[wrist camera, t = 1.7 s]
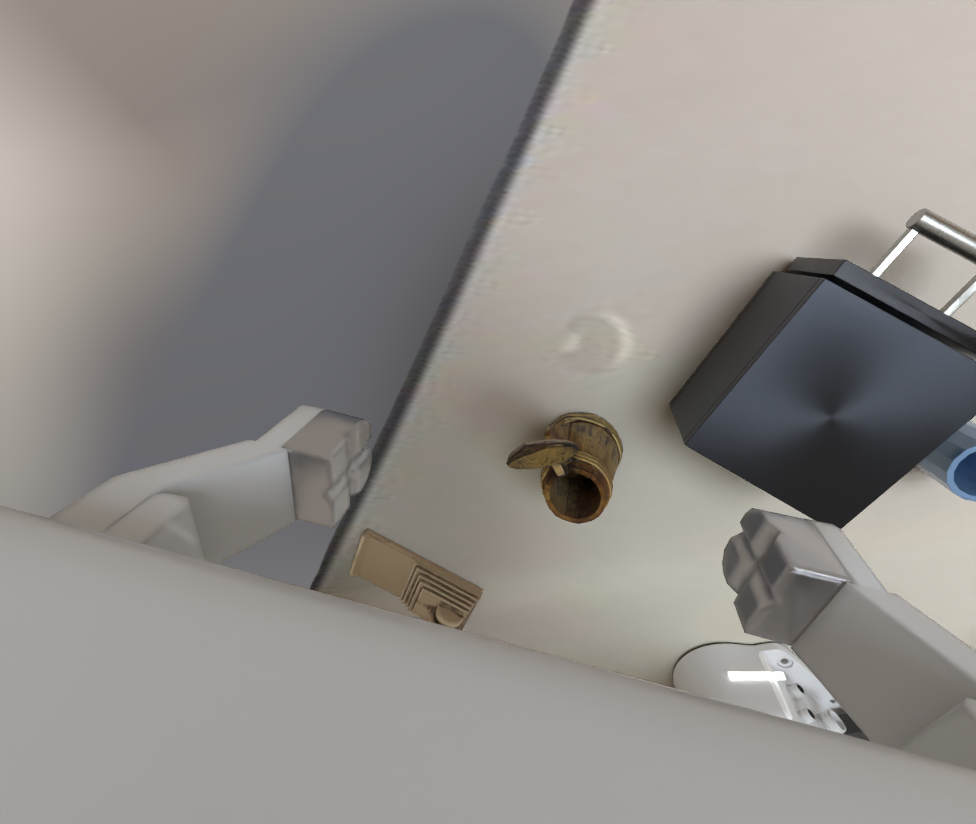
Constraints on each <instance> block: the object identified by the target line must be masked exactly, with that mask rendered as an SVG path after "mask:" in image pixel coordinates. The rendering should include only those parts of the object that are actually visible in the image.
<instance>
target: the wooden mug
mask: <svg viewBox="0 0 976 824" xmlns="http://www.w3.org/2000/svg"><path fill="white" fill-rule="evenodd" d="M622 452H623V447H622V442H621V439H620V437H619V435H618V433H617V431H616V430H615V429H614V427H613V426H612V425H611V424H610V423H608V422H607V421H606V420H605V419H604V418H601V417H599V416H597V415H595V414H591V413H582V412H581V413H572V414H567V415H564V416H562V417H560V418H559V419H558V420H556V421H555V422H554V423H553V424H550V425H549V426H548V427H547V429H546V431H545V435H544V440H538V441H531V442H526V443H524V444H523V445H521V446H520V447H518V448H517V449H516V450H514V451H513V452H512V453H511V454H510V455H509V458H508V460H507V463H506V464H507V465H508V466H509V467H510V468H515V469H533V468H540V467H543V469H542V472H541V487H542V492H543V495H544V497H545V500H546V503H547V505H548V507H549V509H550V510H551V511H552V512H553V513H554V514H555V516H557V517H559V518H561V519H563V520H566V521H569V522H573V523H578V524H579V523H585V522H588V521H592V520H594V519H596V518H597V517H599V516H600V514H601V513H602V512H603V510H604V508H605V507H606V506H607V504H608V502H609V500H610V498H611V495H612V488H613V483H612V481H613V478H614V475H615V471H616V469H617V467H618V465H619V463H620V461H621V458H622Z"/></svg>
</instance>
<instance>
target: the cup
mask: <svg viewBox="0 0 976 824" xmlns="http://www.w3.org/2000/svg"><path fill="white" fill-rule="evenodd" d="M916 467H918V468H919V469H920V470H922V471H923V472H925V473H926V474H927V475H929V476H930V477H932V478H933V479H934V480H936V481H937V482H939V483H940V484H941V485H943V486H944V487H946V488H947V489H948V490H950V491H951V492H953V493H954V494H956V495H958V496H959V497H961V498H963V499H965V500H971V501H976V424H975V423H973V422H971V421H968V422H967V423H966V424H965V425H964V426H962V427H961V428H960V429H959V430H958V431H956V432H955V433H954V434H953V435H952V436H951V437H949V438H948V439H947V440H946V441H945V442H943V443H942V444H941V445H940V446H939V447H938V448H936V449H935V450H934V451H933V452H932V453H930V454H929V455H928V456H927V457H926V458H924V459H923V460H922V461H921V462H920V463H919V464H917V465H916Z"/></svg>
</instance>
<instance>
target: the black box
mask: <svg viewBox="0 0 976 824" xmlns="http://www.w3.org/2000/svg"><path fill="white" fill-rule="evenodd" d="M670 407H671V410H672V412H673V415H674V418H675V420H676V423H677V425H678V428H679V431H680V433H681V436H682V438H683V441H684V444H685V445H686V446H688V447H689V448H691V449H693V450H695V451H696V452H698V453H700V454H701V455H703V456H705V457H707V458H708V459H710V460H712V461H714V462H715V463H717V464H719V465H720V466H722V467H724V468H726V469H727V470H729V471H731V472H733V473H734V474H736V475H738V476H739V477H741V478H743V479H745V480H746V481H748V482H750V483H751V484H753V485H755V486H757V487H758V488H760V489H762V490H764V491H765V492H767V493H769V494H770V495H772V496H774V497H776V498H777V499H779V500H781V501H783V502H784V503H786V504H788V505H789V506H791V507H793V508H795V509H796V510H798V511H800V512H802V513H803V514H805V515H807V516H808V517H810V518H812V519H814V520H815V521H819V522H824V523H829V524H833V525H835V526H836V527H838V528H840V529H841V528H843V527H844V526H845V525H846V524H847V523H848V522H850V521H851V520H852V519H853V518H854V517H856V516H857V515H858V514H859V513H860V512H862V511H863V510H864V509H865V508H866V507H867V506H869V505H870V504H871V503H872V502H873V501H875V500H876V499H877V498H878V497H879V496H881V495H882V494H883V493H884V492H885V491H886V490H888V489H889V488H890V487H891V486H892V485H894V484H895V483H896V482H897V481H898V480H900V479H901V478H902V477H903V476H904V475H905V474H907V473H908V472H909V471H910V470H911V469H913V468H914V467H915V466H916V465H917V464H919V463H920V462H921V461H922V460H923V459H924V458H926V457H927V456H928V455H929V454H930V453H932V452H933V451H934V450H935V449H936V448H938V447H939V446H940V445H941V444H942V443H943V442H945V441H946V440H947V439H948V438H949V437H951V436H952V435H953V434H954V433H955V432H956V431H958V430H959V429H960V428H961V427H962V426H964V425H965V424H966V423H967V422H968V421H970V420H971V419H972V418H973V417H974V416H975V415H976V361H975V360H973V359H971V358H969V357H968V356H966V355H964V354H962V353H960V352H959V351H957V350H955V349H953V348H951V347H949V346H948V345H946V344H944V343H942V342H940V341H939V340H937V339H935V338H933V337H931V336H929V335H928V334H926V333H924V332H922V331H920V330H918V329H917V328H915V327H913V326H911V325H909V324H908V323H906V322H904V321H902V320H900V319H898V318H897V317H895V316H893V315H891V314H889V313H887V312H886V311H884V310H882V309H880V308H878V307H877V306H875V305H873V304H871V303H869V302H867V301H866V300H864V299H862V298H860V297H858V296H857V295H855V294H853V293H851V292H849V291H847V290H846V289H844V288H842V287H840V286H838V285H836V284H835V283H833V282H831V281H829V280H827V279H824V278H817V277H810V276H803V275H796V274H789V273H782V272H775V271H774V272H773V273H772V274H771V275H770V276H769V278H768V279H767V280H766V282H765V283H764V284H763V285H762V287H761V288H760V289H759V290H758V292H757V293H756V294H755V296H754V297H753V298H752V299H751V301H750V302H749V303H748V304H747V306H746V307H745V308H744V310H743V311H742V312H741V313H740V315H739V316H738V317H737V319H736V320H735V321H734V322H733V324H732V325H731V326H730V327H729V329H728V330H727V331H726V333H725V334H724V335H723V336H722V338H721V339H720V340H719V342H718V343H717V344H716V345H715V347H714V348H713V349H712V350H711V352H710V353H709V354H708V356H707V357H706V358H705V359H704V361H703V362H702V363H701V364H700V366H699V367H698V368H697V370H696V371H695V372H694V373H693V375H692V376H691V377H690V379H689V380H688V381H687V382H686V384H685V385H684V386H683V387H682V389H681V390H680V391H679V393H678V394H677V395H676V396H675V398H674V399H673V400H672V401H671V403H670Z"/></svg>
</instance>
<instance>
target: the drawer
mask: <svg viewBox="0 0 976 824" xmlns="http://www.w3.org/2000/svg"><path fill="white" fill-rule="evenodd" d="M906 227H907V228H909V229H907V230H906V231H905V232H904V233H903V235H902V236H901V237H900V238H899V239H898V240H897V241H896V242H895V244H894V245H893V246H892V247H891V248H890V249H889V250H888V251H887V253H886V254H885V255H884V256H883V257H882V258H881V259H880V260H879V262H878V263H877V264H876V265H875V266H874V267H873V268H872V269H871V271H870V272H868V271H866V270H864V269H862V268H860V267H858V266H857V265H855V264H853V263H851V262H849V261H847V260H839V259H820V258H801V257H797V258H796V259H795V260H794V261H793V263H792V264H791V265H790V266H789V268H788V269H787V270H789V271H791V272H792V273H794V274H796V275H803V276H810V277H817V278H824V279H827V280H829V281H831V282H833V283H835V284H836V285H838V286H840V287H842V288H844V289H846V290H847V291H849V292H851V293H853V294H855V295H857V296H858V297H860V298H862V299H864V300H866V301H867V302H869V303H871V304H873V305H875V306H877V307H878V308H880V309H882V310H884V311H886V312H887V313H889V314H891V315H893V316H895V317H897V318H898V319H900V320H902V321H904V322H906V323H908V324H909V325H911V326H913V327H915V328H917V329H918V330H920V331H922V332H924V333H926V334H928V335H929V336H931V337H933V338H935V339H937V340H939V341H940V342H942V343H944V344H946V345H948V346H949V347H951V348H953V349H955V350H957V351H959V352H960V353H962V354H964V355H966V356H968V357H969V358H971V359H974V360H976V330H974V329H972V328H970V327H969V326H967V325H965V324H963V323H961V322H959V321H958V320H956V319H954V318H952V317H950V316H951V315H952V314H953V313H954V312H955V311H956V310H957V309H958V308H959V307H961V306H962V305H963V304H964V303H965V302H966V301H967V300H968V299H969V298H970V297H971V296H972V295H973V294H974V293H975V292H976V275H975V276H974V277H973V278H972V279H971V280H970V281H969V282H968V283H967V284H966V285H965V286H964V287H963V288H962V289H961V290H960V291H959V292H958V293H957V294H956V295H955V296H954V297H953V298H952V299H951V300H950V301H949V302H948V303H947V304H946V305H945V306H944V307H943V308H942V309H941V310H940V311H939V310H937V309H936V308H934V307H932V306H930V305H928V304H926V303H925V302H923V301H921V300H919V299H917V298H915V297H914V296H912V295H910V294H908V293H906V292H904V291H902V290H901V289H899V288H897V287H895V286H893V285H891V284H890V283H888V282H886V281H884V280H882V279H880V278H879V276H880V275H881V274H882V273H883V272H884V271H885V270H886V269H887V268H888V266H889V265H890V264H891V263H892V262H893V261H894V260H895V259H896V258H897V256H898V255H899V254H900V253H901V252H902V251H903V250H904V249H905V248H906V246H907V245H908V244H909V243H910V242H911V241H912V240H913V239H914V238H915V237H916V235H917V234H920V235H922V236H924V237H926V238H927V239H929V240H931V241H933V242H935V243H937V244H939V245H941V246H942V247H944V248H946V249H948V250H950V251H952V252H954V253H955V254H957V255H959V256H961V257H963V258H965V259H967V260H968V261H970V262H972V263H974V264H976V235H974V234H973V233H971V232H969V231H967V230H965V229H963V228H961V227H959V226H958V225H956V224H954V223H952V222H950V221H948V220H946V219H944V218H943V217H941V216H939V215H937V214H935V213H933V212H931V211H929V210H928V209H921V210H919V211H918V212H916V213H915V214H914V215H913V216H912V217H911V218H910V219H909V220H908V222H907V223H906Z"/></svg>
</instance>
